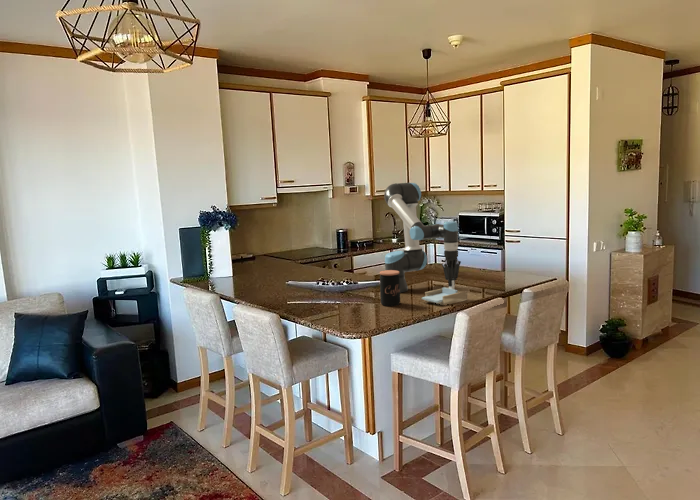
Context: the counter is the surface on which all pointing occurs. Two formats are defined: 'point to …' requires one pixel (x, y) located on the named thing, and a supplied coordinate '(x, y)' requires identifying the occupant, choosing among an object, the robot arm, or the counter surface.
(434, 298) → the cover plate
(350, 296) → the counter surface
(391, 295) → the coffee jar
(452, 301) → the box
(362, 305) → the counter surface
